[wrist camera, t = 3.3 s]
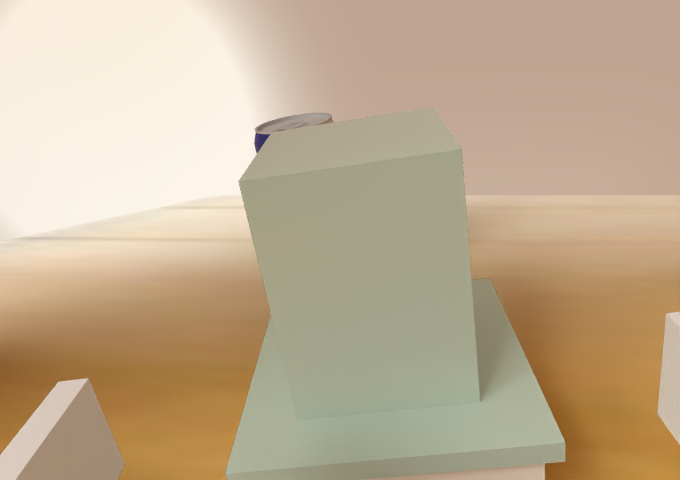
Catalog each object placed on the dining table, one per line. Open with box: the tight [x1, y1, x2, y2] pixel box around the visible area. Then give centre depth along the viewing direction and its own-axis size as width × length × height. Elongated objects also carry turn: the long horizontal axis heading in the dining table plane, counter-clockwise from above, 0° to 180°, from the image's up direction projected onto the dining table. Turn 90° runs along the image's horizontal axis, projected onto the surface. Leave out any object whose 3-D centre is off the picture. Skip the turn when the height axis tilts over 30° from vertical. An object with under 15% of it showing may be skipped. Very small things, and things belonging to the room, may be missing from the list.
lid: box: [225, 107, 566, 480], centre depth 21 cm, size 11×11×10 cm
